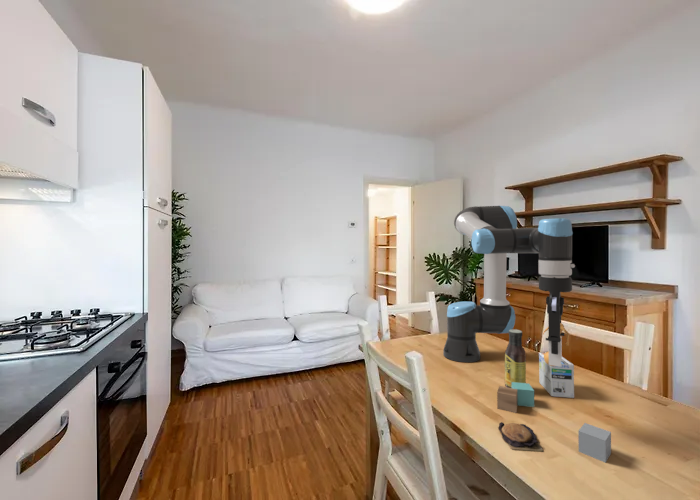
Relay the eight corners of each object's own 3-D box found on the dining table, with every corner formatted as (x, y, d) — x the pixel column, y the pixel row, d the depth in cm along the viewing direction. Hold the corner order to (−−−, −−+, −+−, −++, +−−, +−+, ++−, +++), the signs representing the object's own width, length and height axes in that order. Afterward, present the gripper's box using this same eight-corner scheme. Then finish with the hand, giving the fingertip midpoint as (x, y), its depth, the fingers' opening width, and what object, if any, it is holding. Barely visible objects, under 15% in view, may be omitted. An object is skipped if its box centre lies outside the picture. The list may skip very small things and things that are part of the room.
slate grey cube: (584, 443, 77) (584, 422, 77) (611, 453, 73) (610, 432, 73) (578, 451, 74) (578, 430, 74) (605, 463, 70) (605, 440, 70)
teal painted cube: (511, 397, 100) (511, 382, 100) (529, 399, 99) (529, 383, 99) (515, 405, 95) (515, 388, 95) (534, 407, 94) (534, 390, 94)
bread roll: (546, 455, 73) (546, 439, 73) (508, 452, 75) (508, 436, 74) (527, 428, 84) (527, 415, 84) (494, 426, 85) (494, 412, 85)
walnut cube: (499, 401, 97) (499, 385, 97) (517, 405, 95) (517, 389, 95) (497, 409, 93) (497, 392, 93) (516, 413, 91) (516, 396, 90)
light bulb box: (575, 398, 99) (574, 364, 98) (551, 397, 100) (551, 363, 100) (559, 384, 109) (559, 353, 109) (538, 382, 110) (538, 351, 110)
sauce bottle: (503, 384, 109) (503, 327, 109) (524, 386, 107) (523, 328, 107) (506, 392, 103) (505, 332, 103) (527, 395, 101) (527, 333, 101)
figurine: (535, 360, 90) (531, 320, 88) (553, 355, 90) (550, 315, 89) (559, 374, 81) (555, 330, 80) (579, 368, 82) (575, 325, 81)
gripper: (571, 280, 75) (572, 376, 76) (572, 274, 90) (572, 355, 90) (535, 278, 80) (535, 369, 80) (541, 272, 94) (541, 350, 94)
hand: (555, 362), depth 85 cm, fingers closed on figurine, 4 cm apart
